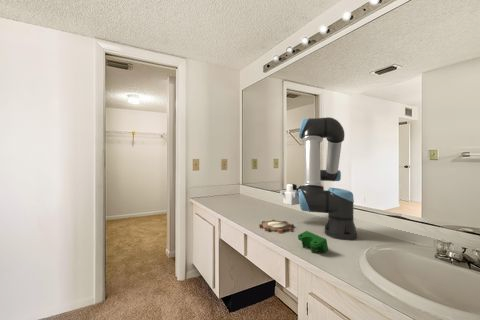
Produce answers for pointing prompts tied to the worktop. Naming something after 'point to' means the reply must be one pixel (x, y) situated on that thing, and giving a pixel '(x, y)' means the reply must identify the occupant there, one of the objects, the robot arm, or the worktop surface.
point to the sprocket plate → (276, 226)
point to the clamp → (313, 241)
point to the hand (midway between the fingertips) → (287, 193)
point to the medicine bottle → (290, 195)
